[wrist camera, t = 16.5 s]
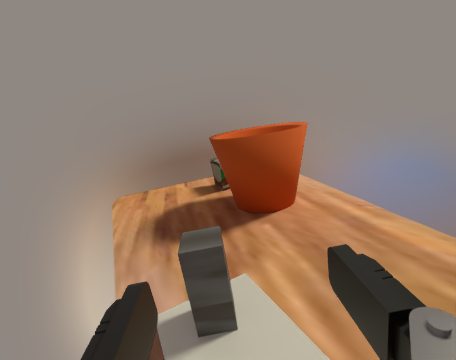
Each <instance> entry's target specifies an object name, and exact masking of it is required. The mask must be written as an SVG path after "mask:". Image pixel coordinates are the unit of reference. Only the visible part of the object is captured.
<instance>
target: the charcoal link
mask: <svg viewBox="0 0 456 360" xmlns="http://www.w3.org/2000/svg"><path fill="white" fill-rule="evenodd" d="M178 257H179V261H180V265H181V269H182V273H183V277H184V281H185V285H186V289H187V293H188V297H189V302H190V306H191V310H192V314H193V318H194V322H195V326H196V330H197V334H198V337H203V336H208V335H213V334H218V333H223V332H228V331H233V330H238V327H237V320H236V312H235V305H234V299H233V293H232V288H231V282H230V277H229V272H228V266H227V261H226V255H225V250H224V245H223V239H222V234H221V228H220V226H216V227H211V228H205V229H200V230H194V231H189V232H183V233H182V237H181V241H180V246H179V250H178Z"/></svg>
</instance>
